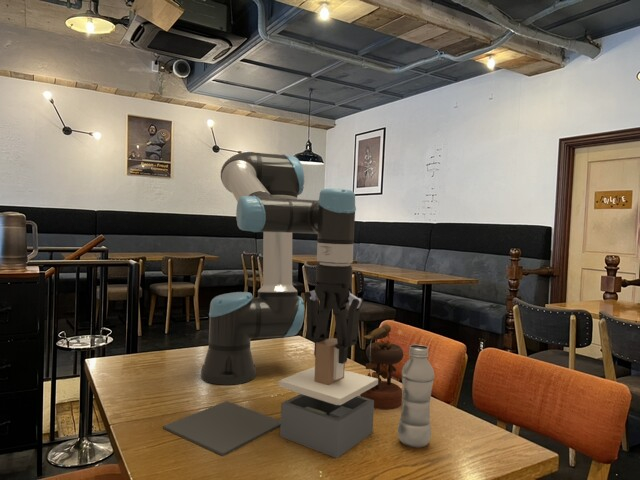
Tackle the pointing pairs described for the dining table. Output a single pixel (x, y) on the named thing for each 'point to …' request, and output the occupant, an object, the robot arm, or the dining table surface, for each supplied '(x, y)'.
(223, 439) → the mat
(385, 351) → the music box
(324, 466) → the dining table surface
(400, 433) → the plastic bottle
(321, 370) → the lid
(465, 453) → the dining table surface
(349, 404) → the box
